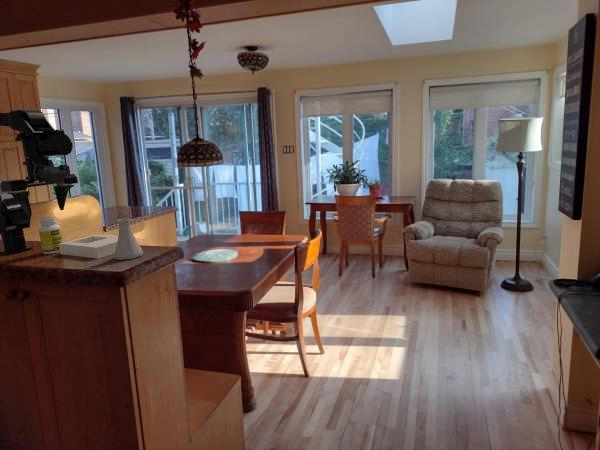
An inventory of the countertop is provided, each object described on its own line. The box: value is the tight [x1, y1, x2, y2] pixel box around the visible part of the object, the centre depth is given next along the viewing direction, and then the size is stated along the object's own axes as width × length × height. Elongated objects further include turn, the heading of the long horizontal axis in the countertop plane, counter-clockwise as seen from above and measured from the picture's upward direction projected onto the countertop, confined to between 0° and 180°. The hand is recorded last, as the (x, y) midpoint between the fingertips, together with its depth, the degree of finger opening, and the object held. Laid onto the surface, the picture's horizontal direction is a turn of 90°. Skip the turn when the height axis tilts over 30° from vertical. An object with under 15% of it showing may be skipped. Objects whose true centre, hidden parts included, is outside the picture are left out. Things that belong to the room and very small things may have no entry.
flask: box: [113, 217, 144, 261], centre depth 114 cm, size 7×7×10 cm
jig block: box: [59, 233, 119, 260], centre depth 124 cm, size 16×12×3 cm
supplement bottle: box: [38, 216, 64, 255], centre depth 126 cm, size 5×5×10 cm
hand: (46, 213), depth 124 cm, fingers open, 9 cm apart
